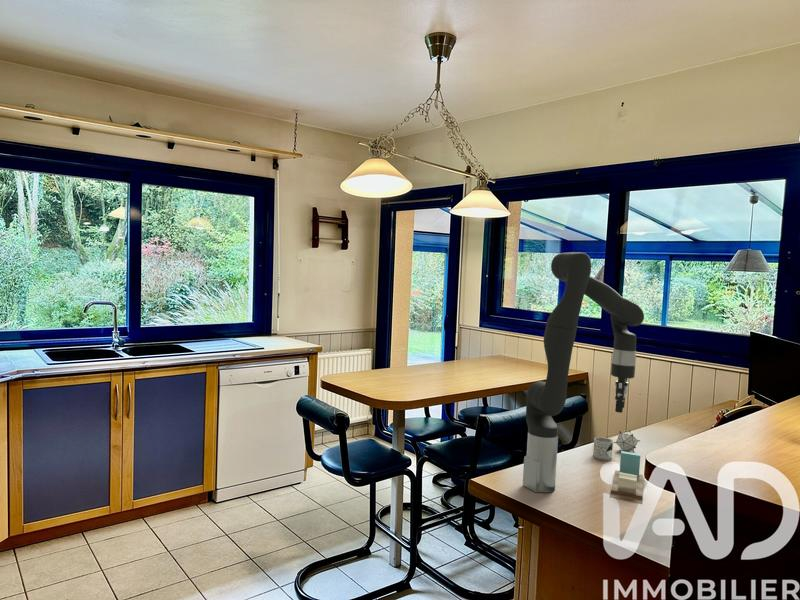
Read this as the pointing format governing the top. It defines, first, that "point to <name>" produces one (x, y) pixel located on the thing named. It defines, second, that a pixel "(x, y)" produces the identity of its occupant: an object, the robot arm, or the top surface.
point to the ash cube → (627, 483)
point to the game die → (626, 441)
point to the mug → (603, 448)
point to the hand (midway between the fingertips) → (619, 409)
